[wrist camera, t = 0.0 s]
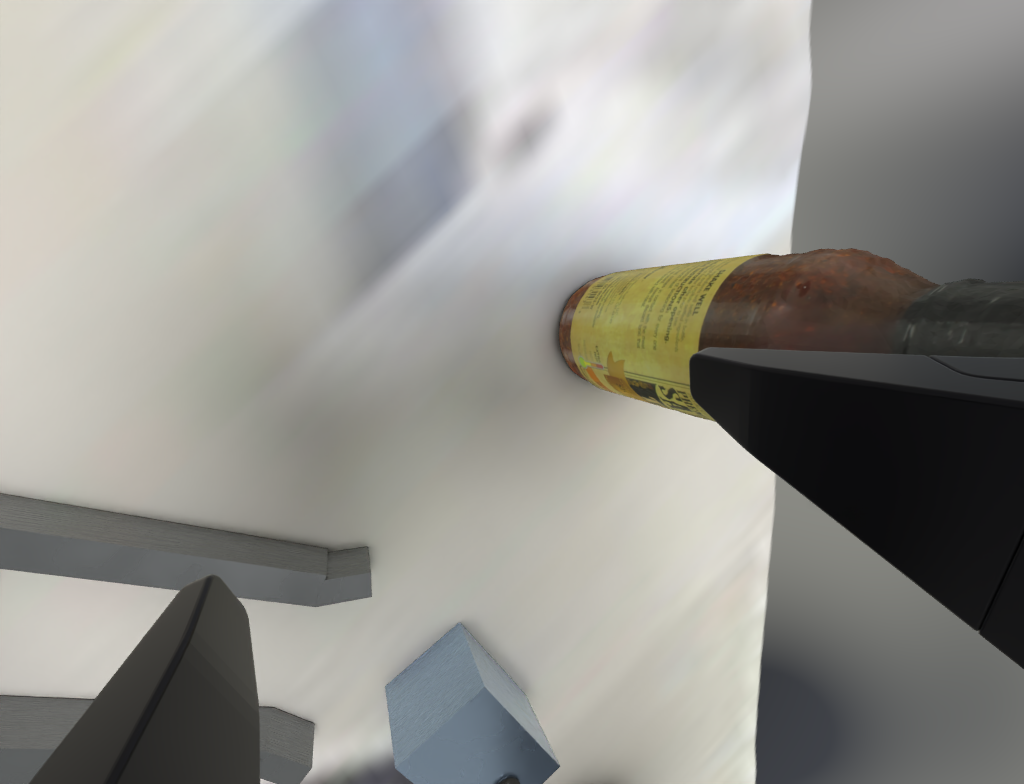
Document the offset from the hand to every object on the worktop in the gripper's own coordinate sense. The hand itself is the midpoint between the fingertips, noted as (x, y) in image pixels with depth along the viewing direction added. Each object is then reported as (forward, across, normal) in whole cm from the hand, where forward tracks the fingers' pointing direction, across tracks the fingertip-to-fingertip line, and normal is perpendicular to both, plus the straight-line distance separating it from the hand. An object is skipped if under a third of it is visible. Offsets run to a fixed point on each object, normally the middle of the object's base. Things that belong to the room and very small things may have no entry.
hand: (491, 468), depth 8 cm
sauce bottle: (+15, -11, +6) cm, 20 cm away
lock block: (+11, +4, +22) cm, 25 cm away
